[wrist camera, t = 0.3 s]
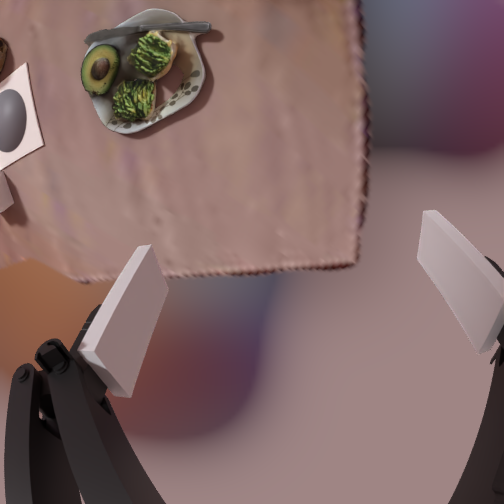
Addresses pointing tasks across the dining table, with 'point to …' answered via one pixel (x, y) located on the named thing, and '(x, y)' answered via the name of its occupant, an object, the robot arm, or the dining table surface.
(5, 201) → the button housing
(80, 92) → the dining table surface
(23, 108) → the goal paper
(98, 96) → the salad plate
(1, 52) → the bread roll
